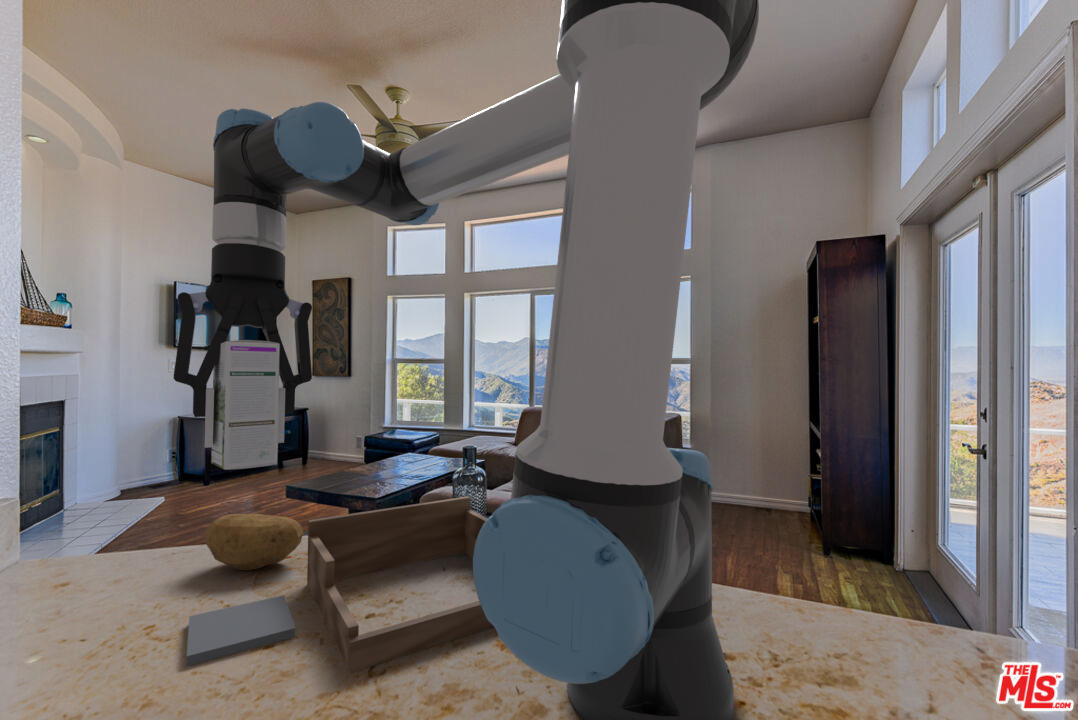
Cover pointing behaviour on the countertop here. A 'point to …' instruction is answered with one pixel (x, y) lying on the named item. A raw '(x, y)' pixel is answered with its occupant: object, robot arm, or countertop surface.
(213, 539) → the potato
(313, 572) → the frame
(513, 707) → the countertop surface
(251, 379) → the syrup box
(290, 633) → the slate mat
